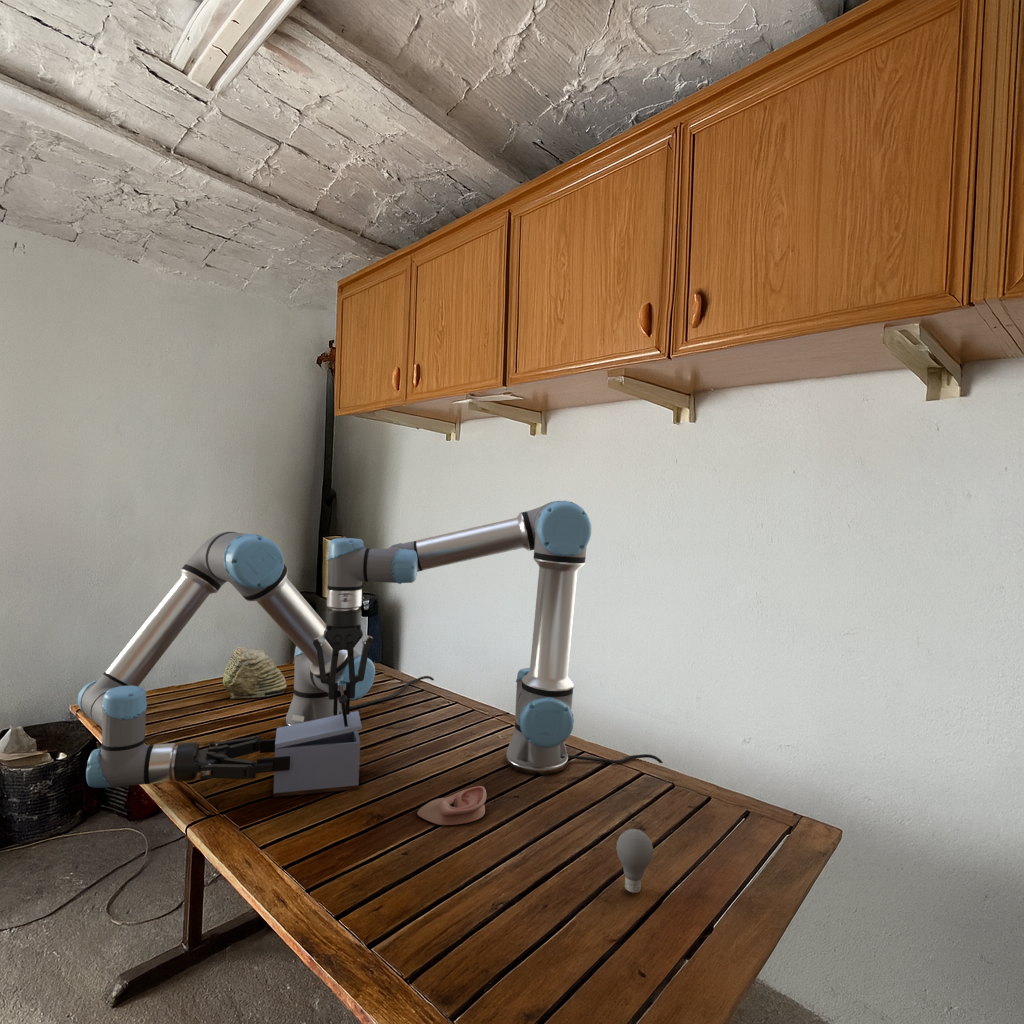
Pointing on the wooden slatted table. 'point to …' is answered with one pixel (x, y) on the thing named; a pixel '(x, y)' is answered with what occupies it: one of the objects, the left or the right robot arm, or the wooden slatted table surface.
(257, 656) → the fossil
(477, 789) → the anatomical model
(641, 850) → the light bulb
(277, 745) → the lid
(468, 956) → the wooden slatted table surface
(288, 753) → the chest
